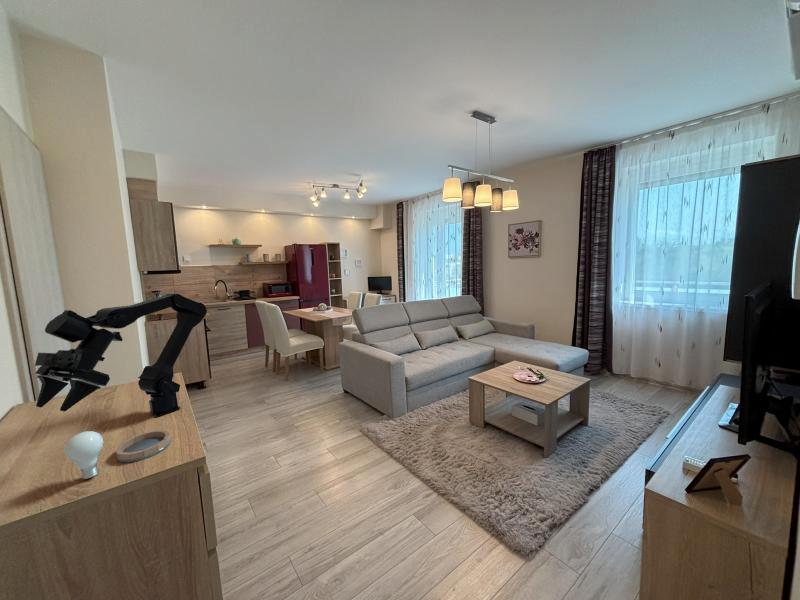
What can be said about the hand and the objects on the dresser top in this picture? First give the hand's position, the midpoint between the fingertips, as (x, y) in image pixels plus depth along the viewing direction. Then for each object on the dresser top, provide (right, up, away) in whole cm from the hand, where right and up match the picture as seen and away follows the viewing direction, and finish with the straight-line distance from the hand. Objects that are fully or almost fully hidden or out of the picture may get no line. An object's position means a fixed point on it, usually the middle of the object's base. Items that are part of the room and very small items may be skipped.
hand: (50, 409), depth 78 cm
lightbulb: (+14, -15, -4) cm, 21 cm away
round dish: (+18, -13, +6) cm, 23 cm away
